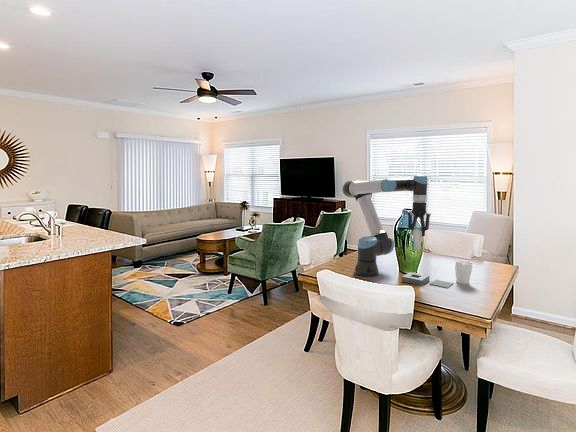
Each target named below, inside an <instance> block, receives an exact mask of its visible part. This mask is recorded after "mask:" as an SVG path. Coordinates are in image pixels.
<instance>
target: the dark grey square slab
mask: <svg viewBox="0 0 576 432" xmlns="http://www.w3.org/2000/svg"><path fill="white" fill-rule="evenodd" d="M403 281H404V283H409V284H414V285H417V286H422V285H424V284H426V283H428V282H429V281H430V275H427V274H422V273H417V272H411V271H410V272H407V273H406V274H403V275H402V276H401V282H403Z"/></svg>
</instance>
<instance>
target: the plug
mask: <svg viewBox="0 0 576 432" xmlns="http://www.w3.org/2000/svg"><path fill="white" fill-rule="evenodd" d="M414 230H415V231H414V241H413V251H417V252H418V251H419V252H420V251H421V250H422V242H420V231H421V230H422V228H421V225H420V226H419V225H415V226H414Z"/></svg>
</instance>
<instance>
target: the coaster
mask: <svg viewBox="0 0 576 432" xmlns="http://www.w3.org/2000/svg"><path fill="white" fill-rule="evenodd" d="M429 285H431V286H433V287H434V286H435V287H439V288H444V289H448V288H450V287H451V286H453V285H454V282H450V281H444V280H439V279H435V280H433V281H432V282H430V283H429Z"/></svg>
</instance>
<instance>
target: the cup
mask: <svg viewBox="0 0 576 432" xmlns="http://www.w3.org/2000/svg"><path fill="white" fill-rule="evenodd" d="M454 267H455V268H454V269H455V280H456V283H458V284H461V285H469V283H470V280H471V275H472V271H473V262H469V261H465V260H458V261H455V266H454Z"/></svg>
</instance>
